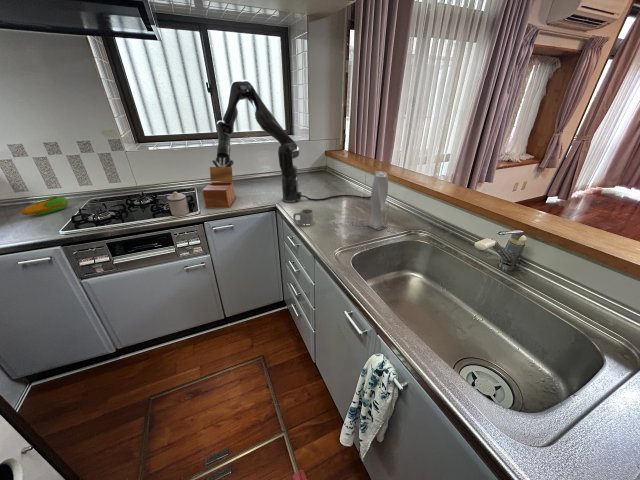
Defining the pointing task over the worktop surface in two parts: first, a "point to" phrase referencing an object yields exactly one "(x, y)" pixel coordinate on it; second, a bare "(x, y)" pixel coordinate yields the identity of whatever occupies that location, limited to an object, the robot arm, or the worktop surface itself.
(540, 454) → the worktop surface
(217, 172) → the flap
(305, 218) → the mug
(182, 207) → the teacup with lid
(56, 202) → the corn
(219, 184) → the wooden box
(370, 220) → the skyscraper
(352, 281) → the worktop surface
